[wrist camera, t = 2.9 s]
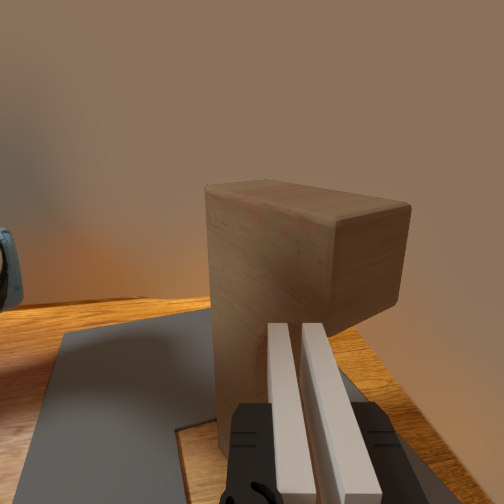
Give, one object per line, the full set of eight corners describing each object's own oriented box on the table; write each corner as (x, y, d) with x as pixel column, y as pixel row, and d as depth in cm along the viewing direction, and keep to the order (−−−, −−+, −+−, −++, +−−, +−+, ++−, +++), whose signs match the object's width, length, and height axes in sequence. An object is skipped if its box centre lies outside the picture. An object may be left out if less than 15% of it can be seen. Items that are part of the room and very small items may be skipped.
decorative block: (366, 519, 32) (415, 202, 22) (308, 577, 27) (336, 219, 17) (268, 416, 43) (270, 178, 33) (216, 446, 39) (202, 185, 29)
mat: (64, 335, 61) (64, 333, 61) (273, 298, 74) (273, 296, 74) (-99, 877, 16) (-102, 875, 16) (498, 548, 29) (499, 545, 29)
